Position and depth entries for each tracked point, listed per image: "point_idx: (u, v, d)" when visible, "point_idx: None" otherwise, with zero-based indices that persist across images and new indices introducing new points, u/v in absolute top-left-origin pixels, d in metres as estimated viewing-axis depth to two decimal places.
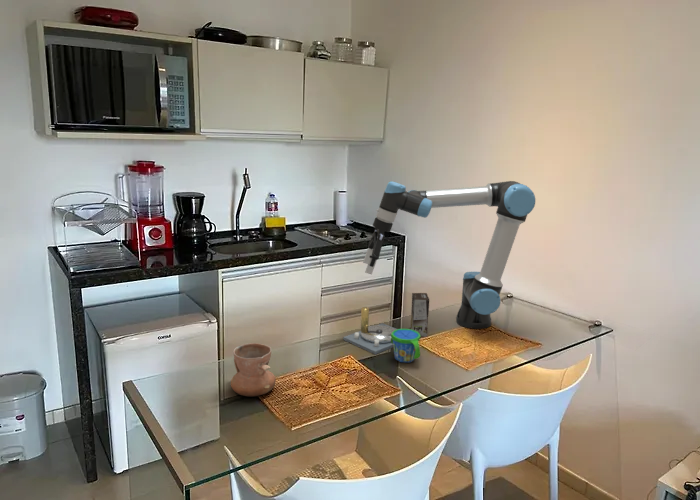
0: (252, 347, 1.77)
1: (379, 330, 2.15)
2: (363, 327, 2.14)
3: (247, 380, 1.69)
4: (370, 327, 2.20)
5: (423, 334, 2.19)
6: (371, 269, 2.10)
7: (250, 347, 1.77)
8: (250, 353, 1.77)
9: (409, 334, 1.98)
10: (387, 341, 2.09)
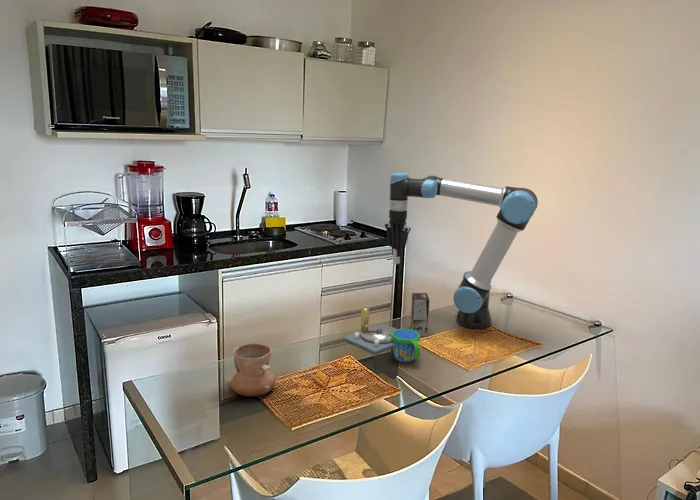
0: (251, 347, 1.77)
1: (379, 330, 2.15)
2: (363, 327, 2.14)
3: (247, 380, 1.69)
4: (370, 327, 2.20)
5: (423, 334, 2.19)
6: (398, 259, 2.29)
7: (250, 347, 1.77)
8: (250, 353, 1.77)
9: (409, 334, 1.98)
10: (387, 341, 2.09)
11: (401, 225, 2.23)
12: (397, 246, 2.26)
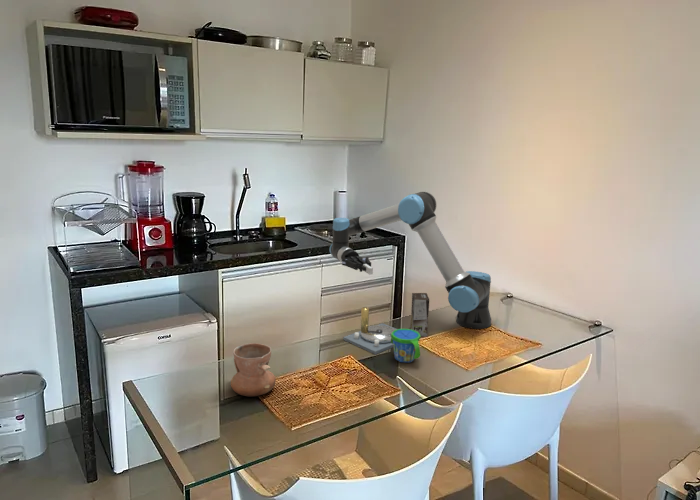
0: (251, 347, 1.77)
1: (379, 330, 2.15)
2: (363, 327, 2.14)
3: (247, 379, 1.69)
4: (370, 327, 2.20)
5: (423, 334, 2.19)
6: (367, 268, 2.19)
7: (250, 347, 1.77)
8: (250, 353, 1.77)
9: (409, 334, 1.98)
10: (387, 341, 2.09)
11: None
12: None
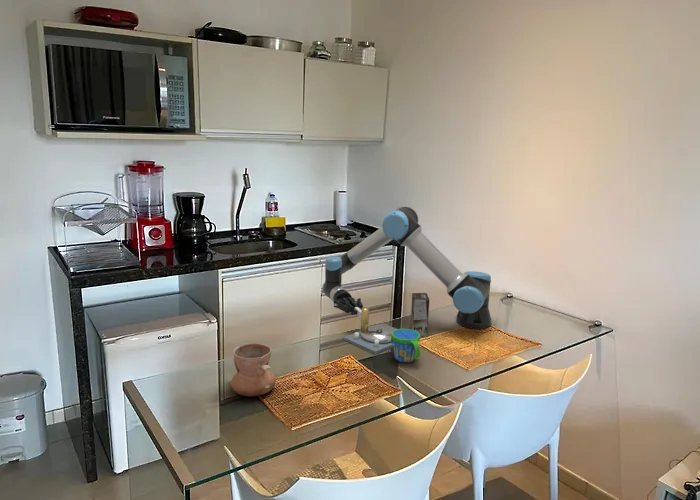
0: (252, 347, 1.77)
1: (379, 330, 2.15)
2: (363, 327, 2.14)
3: (247, 380, 1.69)
4: (370, 327, 2.20)
5: (423, 334, 2.19)
6: (358, 312, 2.17)
7: (250, 347, 1.77)
8: (250, 353, 1.77)
9: (409, 334, 1.98)
10: (388, 341, 2.09)
11: None
12: None
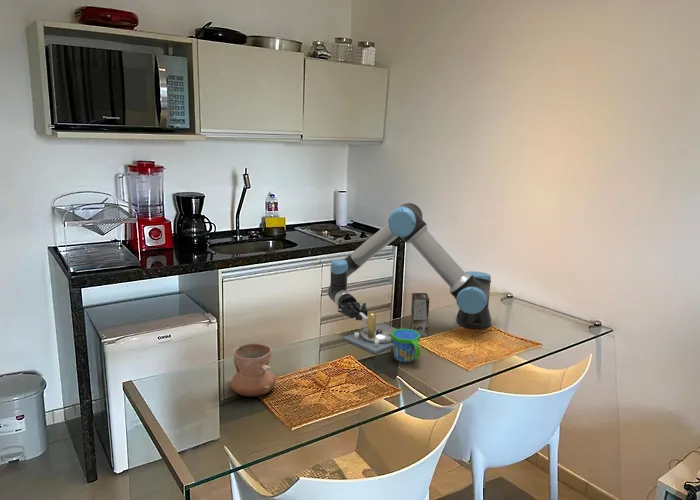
0: (251, 347, 1.77)
1: (379, 330, 2.15)
2: (374, 332, 2.09)
3: (247, 380, 1.69)
4: (364, 332, 2.15)
5: (423, 334, 2.19)
6: (363, 318, 2.11)
7: (250, 347, 1.77)
8: (250, 353, 1.77)
9: (409, 334, 1.98)
10: None
11: None
12: None
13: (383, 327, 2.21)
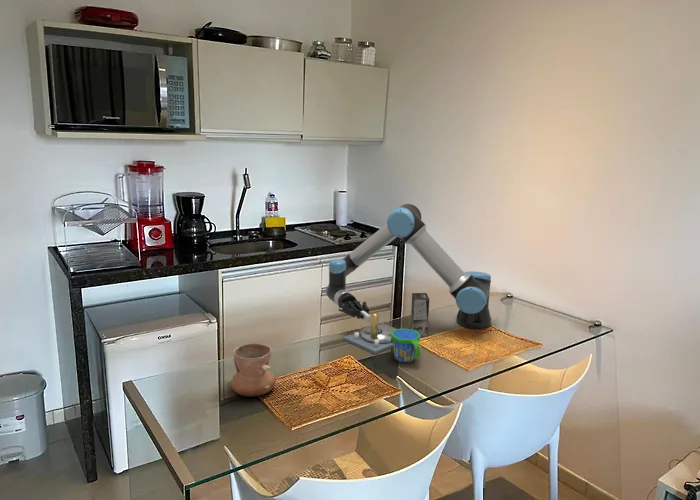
0: (252, 347, 1.77)
1: (379, 330, 2.15)
2: (377, 333, 2.09)
3: (247, 380, 1.69)
4: (365, 333, 2.14)
5: (423, 334, 2.19)
6: (365, 316, 2.12)
7: (250, 347, 1.77)
8: (250, 353, 1.77)
9: (409, 334, 1.98)
10: None
11: None
12: None
13: (380, 327, 2.21)
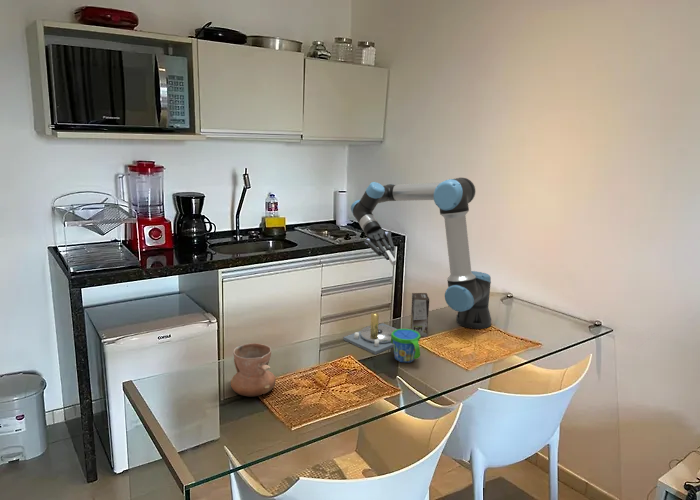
0: (251, 347, 1.77)
1: (379, 330, 2.15)
2: (377, 333, 2.09)
3: (247, 379, 1.69)
4: (365, 333, 2.14)
5: (423, 334, 2.19)
6: (390, 259, 2.23)
7: (250, 347, 1.77)
8: (250, 353, 1.77)
9: (409, 334, 1.98)
10: None
11: None
12: None
13: (380, 327, 2.21)
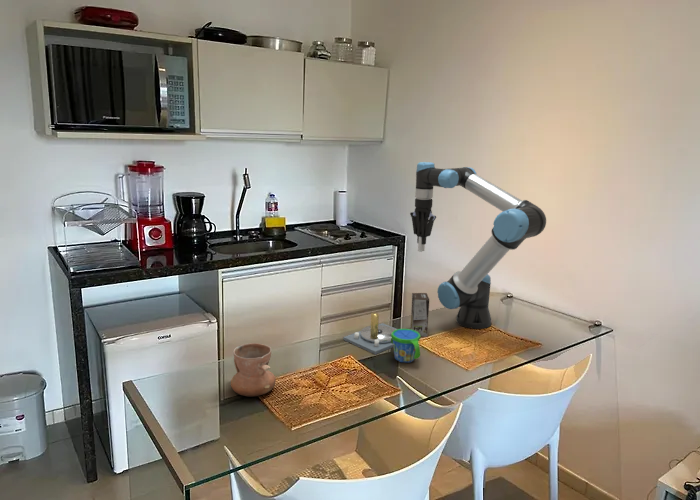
0: (252, 347, 1.77)
1: (379, 330, 2.15)
2: (377, 333, 2.09)
3: (247, 380, 1.69)
4: (365, 333, 2.14)
5: (423, 334, 2.19)
6: None
7: (250, 347, 1.77)
8: (250, 353, 1.77)
9: (409, 334, 1.98)
10: None
11: None
12: None
13: (380, 327, 2.21)
